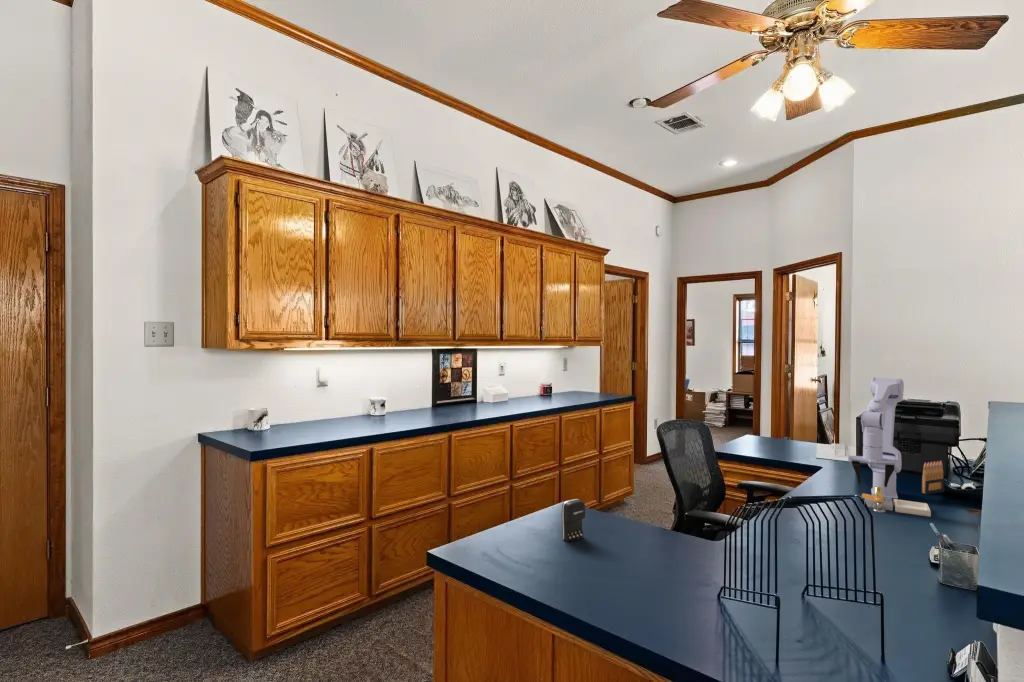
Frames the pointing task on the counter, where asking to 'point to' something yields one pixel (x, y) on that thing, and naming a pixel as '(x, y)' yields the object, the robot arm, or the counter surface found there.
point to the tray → (912, 507)
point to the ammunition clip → (932, 478)
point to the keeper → (873, 498)
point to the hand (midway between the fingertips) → (872, 484)
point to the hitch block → (880, 504)
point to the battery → (572, 519)
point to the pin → (878, 491)
